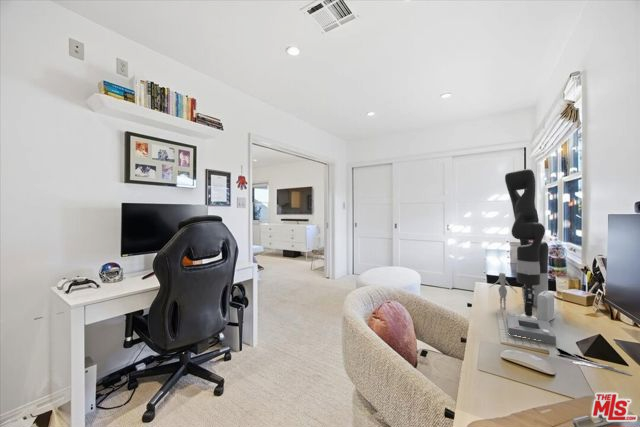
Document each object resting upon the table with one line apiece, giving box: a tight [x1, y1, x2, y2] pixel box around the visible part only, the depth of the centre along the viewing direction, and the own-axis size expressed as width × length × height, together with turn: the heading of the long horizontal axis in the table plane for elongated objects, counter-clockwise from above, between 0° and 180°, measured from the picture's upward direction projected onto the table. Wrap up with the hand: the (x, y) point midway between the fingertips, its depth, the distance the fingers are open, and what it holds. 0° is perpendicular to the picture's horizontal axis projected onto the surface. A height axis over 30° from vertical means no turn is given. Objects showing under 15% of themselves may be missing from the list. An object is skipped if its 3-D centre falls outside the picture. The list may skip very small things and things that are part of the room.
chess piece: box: [520, 302, 537, 320], centre depth 106 cm, size 5×5×10 cm
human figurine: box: [488, 272, 518, 310], centre depth 132 cm, size 12×4×18 cm, turn 43°
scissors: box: [555, 347, 633, 377], centre depth 85 cm, size 8×21×2 cm, turn 42°
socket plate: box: [506, 314, 557, 346], centre depth 106 cm, size 16×14×4 cm
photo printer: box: [536, 290, 556, 322], centre depth 119 cm, size 10×4×12 cm, turn 123°
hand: (528, 314), depth 106 cm, fingers closed on chess piece, 2 cm apart
